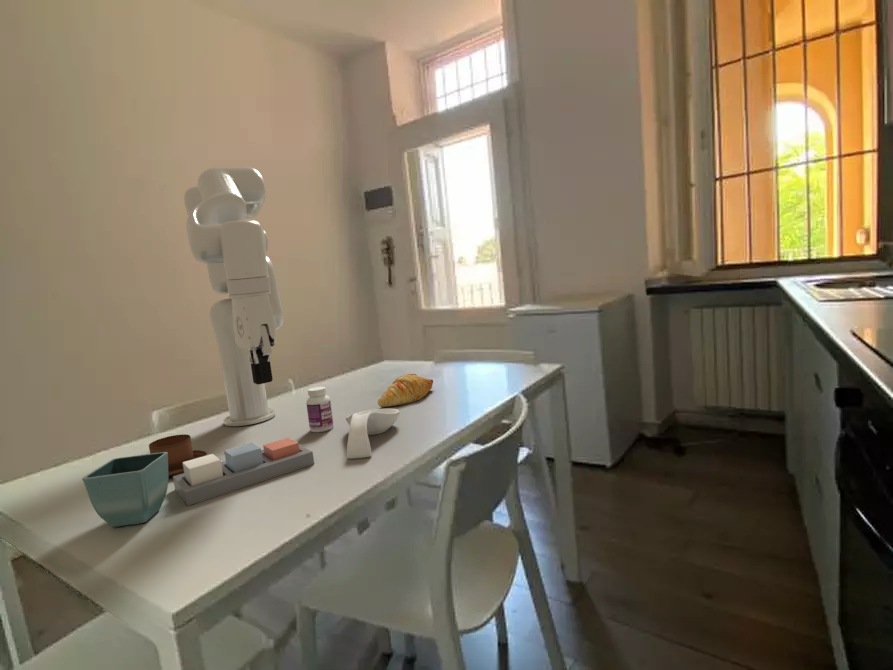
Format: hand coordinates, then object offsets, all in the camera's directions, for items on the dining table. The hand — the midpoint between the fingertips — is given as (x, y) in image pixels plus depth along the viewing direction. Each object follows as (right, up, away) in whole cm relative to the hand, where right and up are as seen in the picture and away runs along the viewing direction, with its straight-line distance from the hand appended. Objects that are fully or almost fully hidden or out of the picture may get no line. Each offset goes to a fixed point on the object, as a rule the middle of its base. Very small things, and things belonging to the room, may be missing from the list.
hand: (263, 382), depth 101 cm
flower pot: (-13, -20, -19) cm, 30 cm away
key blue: (-1, -15, -6) cm, 16 cm away
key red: (+4, -14, -2) cm, 15 cm away
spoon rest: (+19, -13, +9) cm, 25 cm away
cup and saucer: (-18, -18, +2) cm, 25 cm away
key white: (-7, -16, -10) cm, 20 cm away
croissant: (+25, -8, +40) cm, 48 cm away
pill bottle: (+7, -13, +19) cm, 24 cm away
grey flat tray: (-1, -17, -6) cm, 18 cm away
